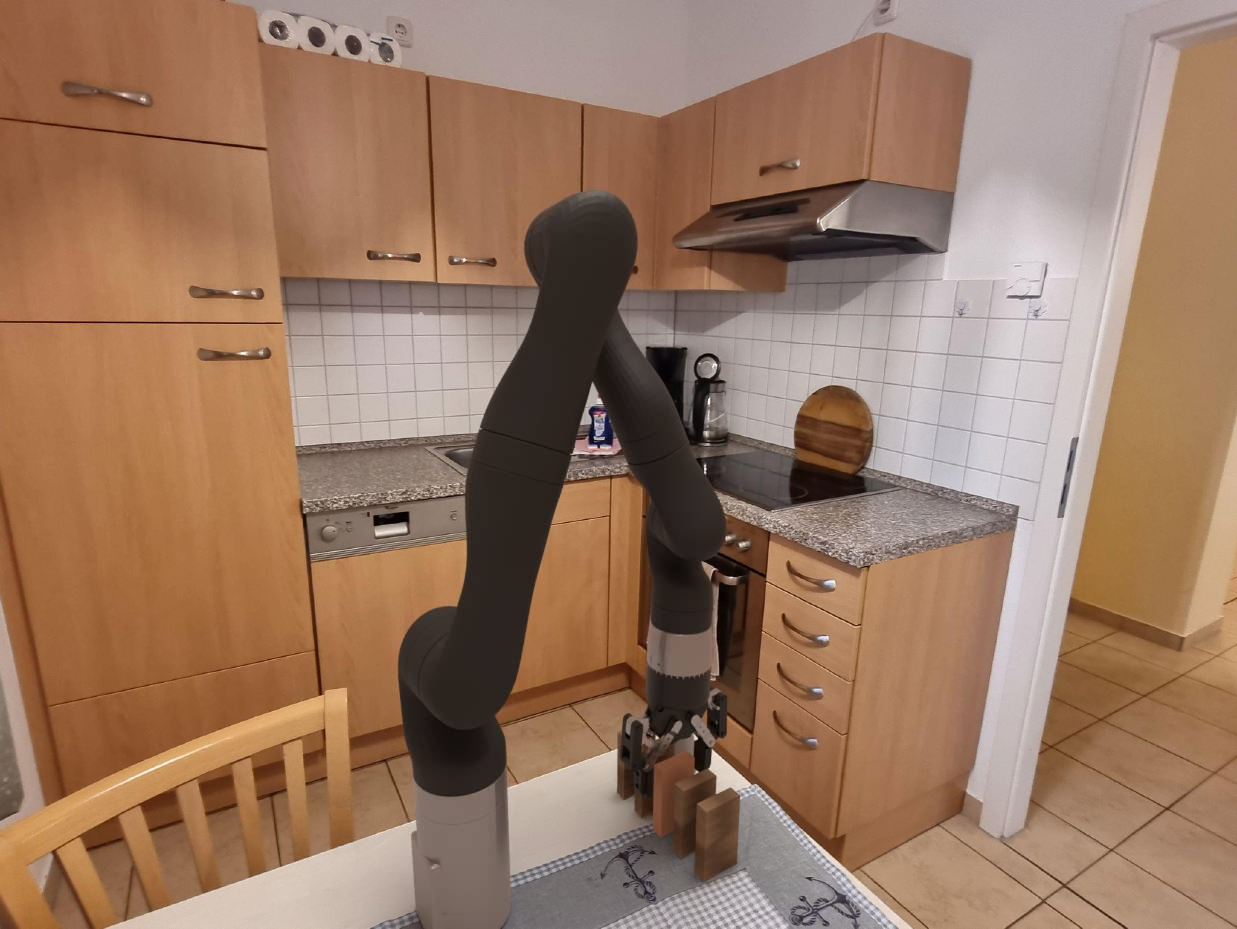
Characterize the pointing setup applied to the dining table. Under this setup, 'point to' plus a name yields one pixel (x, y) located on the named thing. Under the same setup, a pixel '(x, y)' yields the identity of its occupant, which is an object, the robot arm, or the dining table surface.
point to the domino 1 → (625, 774)
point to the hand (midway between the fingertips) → (673, 782)
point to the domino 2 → (646, 804)
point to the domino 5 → (717, 834)
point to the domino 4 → (690, 809)
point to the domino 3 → (669, 789)
